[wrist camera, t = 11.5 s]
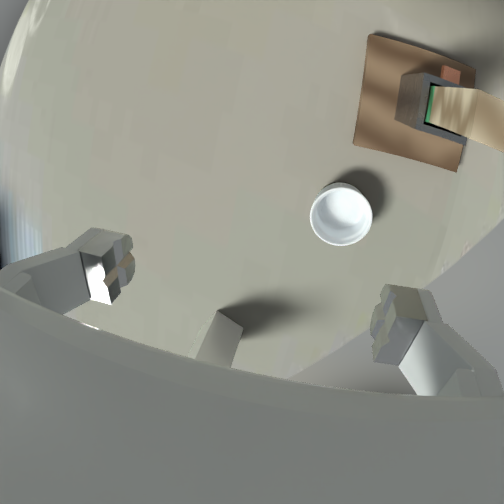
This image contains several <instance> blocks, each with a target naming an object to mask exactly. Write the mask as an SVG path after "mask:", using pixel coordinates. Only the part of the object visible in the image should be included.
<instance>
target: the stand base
mask: <svg viewBox="0 0 504 504" xmlns="http://www.w3.org/2000/svg"><path fill="white" fill-rule="evenodd" d="M443 65H445V66H448V67H451V68H453V69H456V70H458V71H461V72H460V80H459V85H460V86H463V87H465V88H469V89H474V82H475V74H476V69H474V68H472V67H469V66H467V65H465V64H462V63H460V62H457V61H455V60H452V59H450V58H447V57H445V56H442V55H439V54H436V53H434V52H431V51H428V50H425V49H422V48H419V47H416V46H412V45H409V44H406V43H403V42H399V41H396V40H392V39H388V38H384V37H380V36H376V35H372V34H370V35H369V36H368V40H367V49H366V58H365V66H364V74H363V81H362V88H361V95H360V102H359V109H358V115H357V121H356V127H355V133H354V139H353V144H354V145H355V146H360V147H365V148H369V149H373V150H378V151H382V152H386V153H390V154H394V155H398V156H402V157H406V158H409V159H413V160H417V161H420V162H424V163H427V164H431V165H434V166H438V167H441V168H444V169H447V170H450V171H454V172H457V169H458V165H459V161H460V157H461V153H462V148H463V145H462V144H459V143H456V142H454V141H451V140H448V139H445V138H442V137H439V136H436V135H432V134H429V133H426V132H423V131H419V130H416V129H413V128H411V127H409V126H407V125H405V124H403V123H401V122H398V121H396V120H394V117H395V112H396V106H397V100H398V93H399V86H400V79H401V75H407V74H415V73H427V74H430V75H433V76H436V77H439V78H440V77H441V69H442V66H443ZM424 122H425V123H428V124H431V125H432V123H429V122H426V121H424Z"/></svg>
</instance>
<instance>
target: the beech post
mask: <svg viewBox="0 0 504 504" xmlns="http://www.w3.org/2000/svg"><path fill="white" fill-rule="evenodd" d="M424 121H426V122H429V123H432V124H435V125H438V126H440V127H443V128H445V129H448V130H450V131H453V132H455V133H458V134H460V135H462V136H465V137H467V138H469V139H472V140H474V141H477V142H480V143H482V144H485V145H487V146H489V147H492V148H494V149H497V150H499V151H501V152H504V101H503V100H501V99H499V98H497V97H494V96H492V95H490V94H488V93H486V92H484V91H481V90H479V89H469V88H456V87H437V86H430V87H429V94H428V100H427V106H426V112H425V118H424Z"/></svg>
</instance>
